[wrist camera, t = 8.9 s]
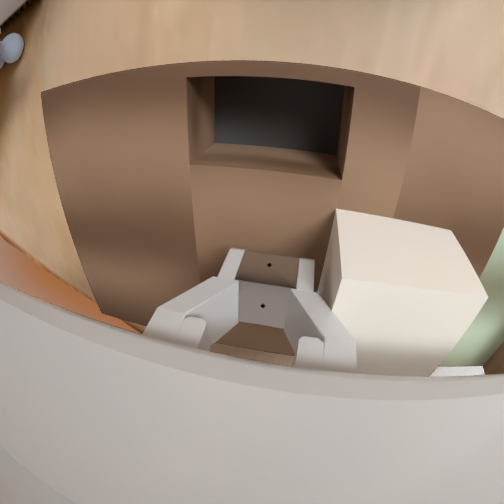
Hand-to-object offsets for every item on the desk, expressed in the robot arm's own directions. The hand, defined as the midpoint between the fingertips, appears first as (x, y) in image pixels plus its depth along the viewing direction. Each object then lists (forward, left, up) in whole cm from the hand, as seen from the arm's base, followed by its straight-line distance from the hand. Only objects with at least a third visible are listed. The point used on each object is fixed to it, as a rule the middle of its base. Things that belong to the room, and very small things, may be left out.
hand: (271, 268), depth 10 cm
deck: (0, +2, -4) cm, 4 cm away
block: (0, +4, -1) cm, 4 cm away
